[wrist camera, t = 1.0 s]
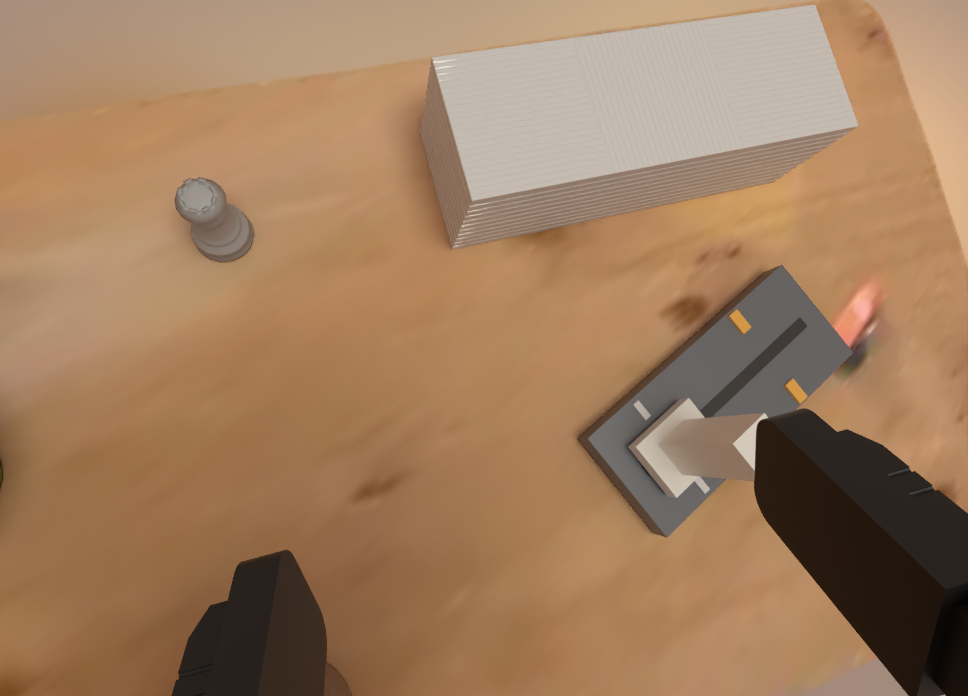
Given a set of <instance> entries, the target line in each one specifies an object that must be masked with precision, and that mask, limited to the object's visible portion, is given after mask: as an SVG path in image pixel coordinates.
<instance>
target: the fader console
mask: <svg viewBox="0 0 968 696" xmlns="http://www.w3.org/2000/svg"><path fill="white" fill-rule="evenodd" d="M852 353H853V352H852V350H851V349H850V348H849V347H848V346H847V344H846V343H845V342H844V341H843V339H842V338H841V337H840V336H839V334H838V333H837V332H836V331H835V329H834V328H833V327H832V326H831V325H830V323H829V322H828V321H827V320H826V318H825V317H824V316H823V315H822V313H821V312H820V311H819V310H818V309H817V307H816V306H815V305H814V304H813V302H812V301H811V300H810V299H809V297H808V296H807V295H806V294H805V292H804V291H803V290H802V289H801V288H800V286H799V285H798V284H797V283H796V281H795V280H794V279H793V278H792V276H791V275H790V274H789V273H788V272H787V270H786V269H785V268H784V267H783V265H780V266H778V267H775V268H773V269H771V270H769V271H766V272H764V273H763V274H762V275H761V276H760V277H758V278H757V279H756V280H755V281H754V282H753V283H752V284H751V285H749V286H748V287H747V288H746V289H745V290H744V291H743V292H742V293H740V294H739V295H738V296H737V297H736V298H735V299H734V300H733V301H731V302H730V303H729V304H728V305H727V306H726V307H725V308H724V309H723V310H721V311H720V312H719V313H718V314H717V315H716V316H715V317H714V318H712V319H711V320H710V321H709V322H708V323H707V324H706V325H705V326H703V327H702V328H701V329H700V330H699V331H698V332H697V333H696V334H694V335H693V336H692V337H691V338H690V339H689V340H688V341H687V342H685V343H684V344H683V345H682V346H681V347H680V348H679V349H678V350H676V351H675V352H674V353H673V354H672V355H671V356H670V357H669V358H667V359H666V360H665V361H664V362H663V363H662V364H661V365H660V366H658V367H657V368H656V369H655V370H654V371H653V372H652V373H651V374H649V375H648V376H647V377H646V378H645V379H644V380H643V381H642V382H640V383H639V384H638V385H637V386H636V387H635V388H634V389H633V390H631V391H630V392H629V393H628V394H627V395H626V396H625V397H624V398H622V399H621V400H620V401H619V402H618V403H617V404H616V405H615V406H613V407H612V408H611V409H610V410H609V411H608V412H607V413H606V414H604V415H603V416H602V417H601V418H600V419H599V420H598V421H597V422H596V423H594V424H593V425H592V426H591V427H590V428H589V429H588V430H587V431H585V432H584V433H583V434H582V435H581V436H580V437H579V438H578V441H579V442H580V443H581V444H582V446H583V447H584V448H585V449H586V451H587V452H588V453H589V454H590V456H591V457H592V458H593V459H594V460H595V462H596V463H597V464H598V465H599V467H600V468H601V469H602V470H603V472H604V473H605V474H606V475H607V477H608V478H609V479H610V480H611V482H612V483H613V484H614V485H615V487H616V488H617V489H618V490H619V492H620V493H621V494H622V495H623V497H624V498H625V499H626V500H627V502H628V503H629V504H630V505H631V507H632V508H633V509H634V510H635V512H636V513H637V514H638V515H639V517H640V518H641V519H642V520H643V521H644V523H645V524H646V525H647V526H648V528H649V529H650V530H651V531H652V533H654V534H657V535H661V536H664V537H668V536H669V535H670V534H671V533H672V532H673V531H674V530H675V529H676V528H677V527H678V526H679V525H680V524H681V523H682V522H683V521H684V520H685V519H686V518H687V517H688V516H689V515H690V514H691V513H692V512H693V511H694V510H695V509H696V508H697V507H698V506H699V505H700V504H701V503H702V502H703V501H704V500H705V499H706V498H707V497H708V496H709V495H710V494H711V493H712V492H713V491H714V490H715V489H716V488H717V487H718V486H719V485H721V484H722V483H723V482H724V481H725V480H726V479H722V478H711V477H700V476H699V477H698V478H697V479H696V480H695V481H694V482H693V483H692V484H691V485H690V486H689V487H688V488H687V489H686V490H685V491H684V492H682V493H681V494H680V495H679V496H678V497H677V498H674V497H668V496H667V495H666V494H665V493H664V491H663V490H662V489H661V488H660V486H659V485H658V484H657V483H656V481H655V480H654V479H653V478H652V476H651V475H650V474H649V473H648V471H647V470H646V469H645V468H644V466H643V465H642V464H641V463H640V461H639V460H638V459H637V458H636V456H635V455H634V454H633V453H632V451H631V450H630V449H629V448H628V446H629V445H630V444H631V443H633V442H634V441H635V440H636V439H637V438H638V437H639V436H640V435H641V434H642V433H643V432H644V431H646V430H647V429H648V428H649V427H650V426H651V425H652V424H653V423H654V422H655V421H656V420H658V419H659V418H660V417H661V416H662V415H663V414H664V413H665V412H666V411H667V410H668V409H669V408H671V407H672V406H673V405H674V404H675V403H676V402H677V401H678V400H679V399H685V398H689V399H690V400H691V401H692V402H693V404H694V405H695V406H696V407H697V409H698V410H699V411H700V412H701V414H702V415H703V416H704V417H705V418H711V417H722V416H734V415H746V414H758V413H765V414H766V415H767V417H768V418H769V417H773V416H777V415H781V414H784V413H788V412H792V411H795V410H796V409H797V408H798V407H799V406H800V405H801V404H802V403H803V402H804V401H805V400H806V399H807V398H808V397H809V396H810V395H811V394H812V393H813V392H814V391H815V390H816V389H817V388H818V387H819V386H820V385H821V384H822V383H823V382H824V381H825V380H826V379H827V378H828V377H829V376H830V375H831V374H832V373H833V372H834V371H835V370H836V369H837V368H838V367H839V366H840V365H841V364H842V363H843V362H844V361H845V360H846V359H847V358H848V357H849V356H850V355H851V354H852Z"/></svg>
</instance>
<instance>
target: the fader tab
mask: <svg viewBox="0 0 968 696" xmlns="http://www.w3.org/2000/svg"><path fill="white" fill-rule="evenodd" d="M766 418H768V417H767V415H766V414H765V413H758V414H746V415H734V416H722V417H711V418H705V417H704V416H703V415H702V414H701V412H700V411H699V410H698V409H697V407H696V406H695V405H694V404H693V402H692V401H691V400H690V399H689V398H685V399H679V400H678V401H677V402H676V403H675V404H674V405H673V406H672V407H671V408H669V409H668V410H667V411H666V412H665V413H664V414H663V415H662V416H661V417H660V418H659V419H658V420H656V421H655V422H654V423H653V424H652V425H651V426H650V427H649V428H648V429H647V430H646V431H644V432H643V433H642V434H641V435H640V436H639V437H638V438H637V439H636V440H635V441H634V442H633V443H631V444H630V445H629V446H628V448H629V449H630V450H631V451H632V453H633V454H634V455H635V456H636V458H637V459H638V460H639V461H640V463H641V464H642V465H643V466H644V468H645V469H646V470H647V471H648V473H649V474H650V475H651V476H652V478H653V479H654V480H655V481H656V483H657V484H658V485H659V486H660V488H661V489H662V490H663V491H664V493H665V494H666V495H667V496H668V497H674V498H677V497H678V496H679V495H680V494H681V493H682V492H684V491H685V490H686V489H687V488H688V487H689V486H690V485H691V484H692V483H693V482H694V481H695V480H696V479H697V478H698V477H699V476H700V477H711V478H722V479H733V480H744V481H754V476H755V448H756V428H757V424H758V422H759V421H760V420H762V419H766Z"/></svg>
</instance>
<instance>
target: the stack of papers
mask: <svg viewBox="0 0 968 696" xmlns="http://www.w3.org/2000/svg"><path fill="white" fill-rule="evenodd" d="M429 74H430V75H429V78H428V82H429V83H428V84H427V91H426V98H425V104H424V111H423V117H422V124H421V129H420V136H421V139H422V143H423V147H424V150H425V154H426V158H427V161H428V165H429V168H430V172H431V176H432V179H433V183H434V187H435V190H436V194H437V198H438V201H439V205H440V209H441V212H442V216H443V220H444V223H445V227H446V230H447V234H448V238H449V241H450V245H451V249H452V250H454V249H459V248H464V247H469V246H473V245H478V244H483V243H488V242H492V241H497V240H502V239H507V238H511V237H516V236H521V235H526V234H530V233H535V232H540V231H545V230H549V229H554V228H559V227H564V226H568V225H573V224H578V223H583V222H587V221H592V220H597V219H602V218H606V217H611V216H616V215H621V214H625V213H630V212H635V211H640V210H644V209H649V208H654V207H659V206H663V205H668V204H673V203H678V202H683V201H687V200H692V199H697V198H702V197H706V196H711V195H716V194H721V193H725V192H730V191H735V190H740V189H744V188H749V187H754V186H759V185H763V184H768V183H773V182H774V181H776V180H777V179H778V178H780V177H782V176H784V174H787V173H788V172H790V171H791V169H794V168H796V167H797V166H798V165H800V164H802V163H803V162H805V161H806V160H807V159H809V158H811V157H812V156H814V154H817V153H819V152H820V151H822V149H825V148H826V147H828V146H829V145H830V144H831V143H834V142H835V141H837V140H838V139H839V138H841V137H843V136H844V135H846V134H847V133H848V132H850V131H852V130H854V129H855V128H857V127H858V126H859V125H858V123H857V120H856V117H855V114H854V111H853V109H852V106H851V103H850V100H849V97H848V95H847V92H846V89H845V86H844V83H843V81H842V78H841V75H840V72H839V70H838V67H837V64H836V61H835V58H834V56H833V53H832V50H831V47H830V44H829V42H828V39H827V36H826V33H825V31H824V28H823V25H822V22H821V19H820V17H819V14H818V11H817V8H816V5H807V6H800V7H793V8H786V9H778V10H771V11H764V12H757V13H749V14H742V15H735V16H727V17H720V18H713V19H706V20H698V21H691V22H684V23H677V24H669V25H662V26H655V27H648V28H640V29H633V30H626V31H619V32H611V33H604V34H597V35H590V36H582V37H575V38H568V39H561V40H553V41H546V42H539V43H532V44H524V45H517V46H510V47H503V48H495V49H488V50H481V51H474V52H466V53H459V54H452V55H445V56H437V57H432V59H431V67H430V72H429Z"/></svg>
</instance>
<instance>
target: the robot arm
mask: <svg viewBox="0 0 968 696" xmlns="http://www.w3.org/2000/svg"><path fill="white" fill-rule="evenodd" d="M754 490H755V496H756V500H757V503H758V505H759V508H760V510H761V512H762V514H763V516H764V518H765V519H766V521H767V522H768V524H769V525H770V526H771V527H772V529H773V530H774V531H775V532H776V534H777V535H778V536H779V537H780V538H781V540H782V541H783V542H784V543H785V545H786V546H787V547H788V548H789V550H790V551H791V552H792V553H793V554H794V556H795V557H796V558H797V559H798V561H799V562H800V563H801V564H802V565H803V567H804V568H805V569H806V570H807V572H808V573H809V574H810V575H811V576H812V578H813V579H814V580H815V581H816V583H817V584H818V585H819V586H820V588H821V589H822V590H823V591H824V592H825V594H826V595H827V596H828V597H829V599H830V600H831V601H832V602H833V603H834V605H835V606H836V607H837V608H838V610H839V611H840V612H841V613H842V614H843V616H844V617H845V618H846V619H847V621H848V622H849V623H850V624H851V626H852V627H853V628H854V629H855V630H856V632H857V633H858V634H859V635H860V637H861V638H862V639H863V640H864V641H865V643H866V644H867V645H868V646H869V648H870V649H871V650H872V651H873V652H874V654H875V655H876V656H877V657H878V659H879V660H880V661H881V662H882V663H883V664H884V666H885V667H886V668H887V670H888V671H889V672H890V673H891V675H892V676H893V677H894V678H895V679H896V681H897V682H898V683H899V684H900V686H901V687H902V688H903V689H904V690H905V692H906V693H907V694H908V695H909V696H940V695H943V694H945V695H946V696H968V513H966V512H965V511H964V510H963V509H961V508H960V507H959V506H958V505H956V504H955V503H954V502H953V501H951V500H950V499H949V498H948V497H946V496H945V495H944V494H943V493H941V492H940V491H939V490H936V491H935V490H934V489H933V487H932V485H931V484H930V483H929V482H928V481H926V480H925V479H924V478H923V477H921V476H920V475H919V474H918V473H916V472H915V471H914V472H911V470H910V468H909V466H908V465H906V464H905V463H904V462H903V461H902V460H900V459H899V458H898V457H897V456H895V455H894V454H893V453H892V452H890V451H889V450H888V449H887V448H885V447H884V446H883V445H881V444H879V443H877V442H874V441H872V440H870V439H868V438H865V437H863V436H861V435H859V434H856V433H854V432H852V431H850V430H843V431H839V432H836V431H835V430H834V429H833V428H832V427H830V426H829V425H828V424H827V423H826V422H825V421H823V420H822V419H821V418H820V417H819V416H818V415H816V414H815V413H814V412H812V411H811V410H809V409H799V410H795V411H792V412H788V413H784V414H781V415H777V416H773V417H769V418H766V419H762V420H760V421H759V422H758V424H757V428H756V448H755V476H754ZM326 653H327V639H326V630H325V624H324V620H323V616H322V613H321V610H320V608H319V606H318V604H317V602H316V600H315V598H314V596H313V594H312V592H311V590H310V588H309V586H308V584H307V582H306V580H305V578H304V576H303V574H302V572H301V570H300V568H299V566H298V564H297V562H296V560H295V558H294V556H293V554H292V553H291V552H290V551H289V550H283V551H280V552H276V553H272V554H269V555H265V556H261V557H258V558H254V559H250V560H246V561H243V562H240V563H239V564H238V566H237V568H236V570H235V573H234V577H233V581H232V585H231V589H230V594H229V598H228V601H225V602H221V603H217V604H214V605H210V607H209V608H208V610H207V611H206V613H205V614H204V616H203V617H202V619H201V620H200V622H199V623H198V625H197V626H196V628H195V629H194V631H193V632H192V634H191V635H190V637H189V638H188V642H187V645H186V649H185V652H184V655H183V659H182V662H181V666H180V669H179V672H178V674H179V680H176V682H175V686H174V689H173V693H172V696H351V692H350V690H349V688H348V686H347V684H346V682H345V681H344V679H343V678H342V677H341V675H340V674H339V673H338V672H337V671H336V670H335V669H334V668H333V667H331V666H330V665H328V664H327V663H326Z"/></svg>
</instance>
